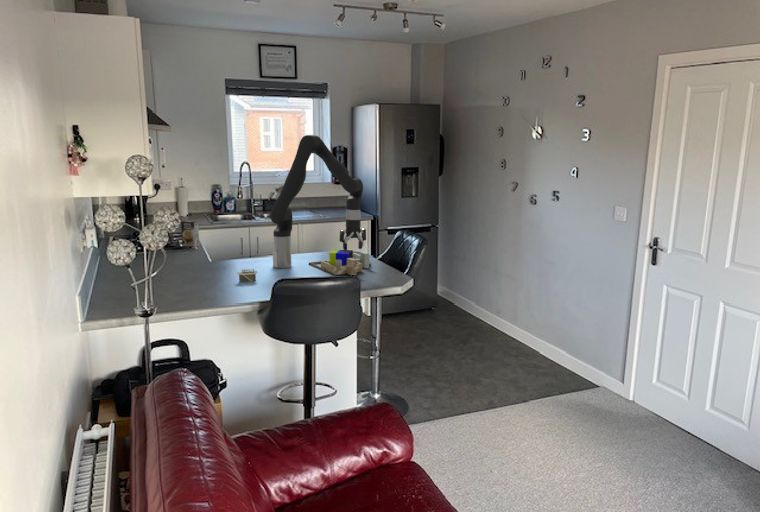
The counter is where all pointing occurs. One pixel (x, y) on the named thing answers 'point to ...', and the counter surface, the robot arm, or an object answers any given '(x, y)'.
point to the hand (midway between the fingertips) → (352, 249)
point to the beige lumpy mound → (343, 267)
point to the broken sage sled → (362, 259)
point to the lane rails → (320, 263)
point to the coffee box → (190, 233)
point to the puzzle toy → (340, 257)
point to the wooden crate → (247, 275)
